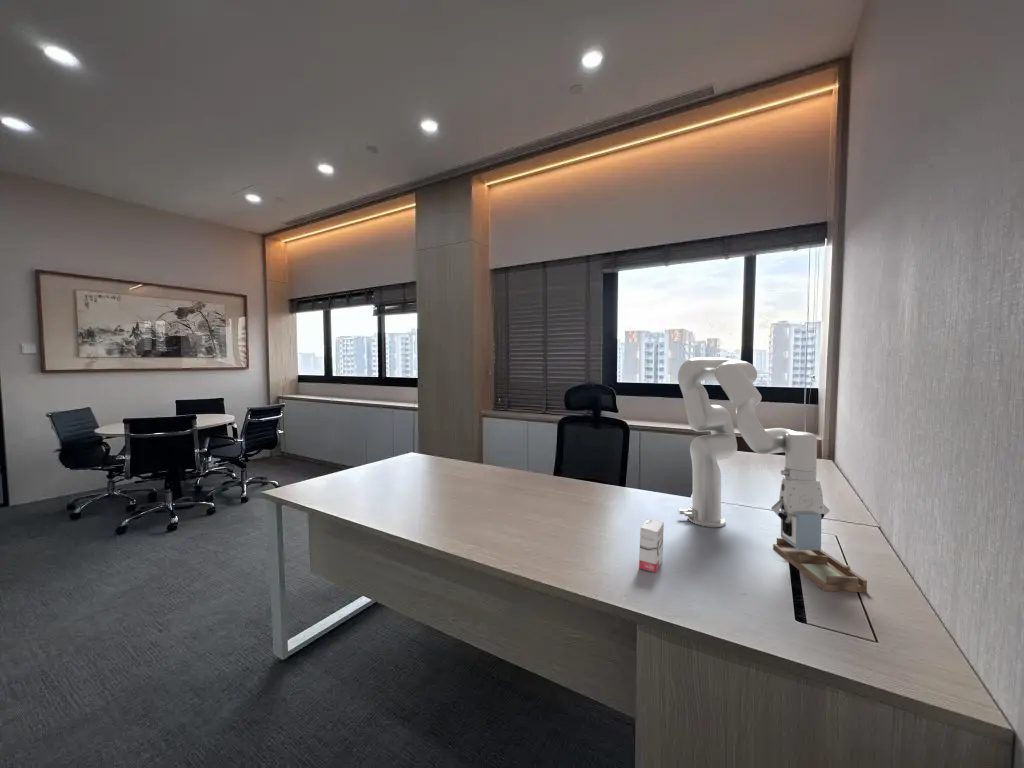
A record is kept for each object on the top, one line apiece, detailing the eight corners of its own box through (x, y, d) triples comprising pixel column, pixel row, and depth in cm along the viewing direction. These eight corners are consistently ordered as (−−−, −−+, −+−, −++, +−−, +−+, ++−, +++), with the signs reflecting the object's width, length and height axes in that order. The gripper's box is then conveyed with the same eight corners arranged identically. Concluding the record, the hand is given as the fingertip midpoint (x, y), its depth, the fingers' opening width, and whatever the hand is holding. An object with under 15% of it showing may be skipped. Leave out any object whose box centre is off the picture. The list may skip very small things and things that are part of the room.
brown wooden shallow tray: (824, 590, 105) (824, 576, 104) (773, 548, 128) (773, 537, 128) (867, 592, 104) (867, 578, 104) (807, 549, 128) (807, 538, 127)
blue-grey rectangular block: (797, 549, 117) (798, 515, 117) (780, 536, 126) (780, 504, 126) (820, 550, 117) (821, 515, 116) (801, 537, 126) (802, 504, 125)
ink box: (657, 573, 114) (657, 531, 114) (638, 569, 117) (638, 527, 116) (663, 560, 122) (664, 521, 121) (646, 556, 124) (646, 517, 124)
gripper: (776, 477, 118) (775, 539, 119) (841, 478, 116) (840, 541, 117) (762, 470, 125) (762, 529, 126) (823, 471, 124) (822, 530, 124)
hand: (799, 534), depth 121 cm, fingers closed on blue-grey rectangular block, 6 cm apart
